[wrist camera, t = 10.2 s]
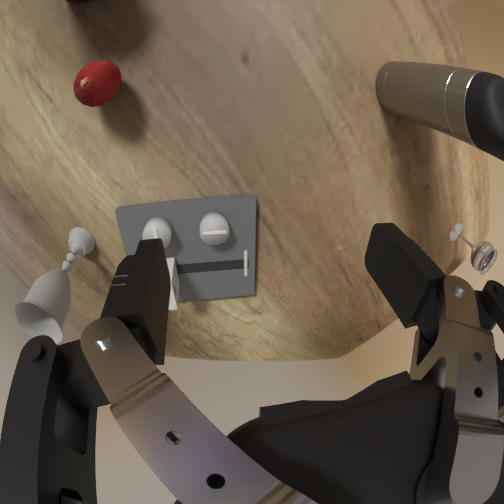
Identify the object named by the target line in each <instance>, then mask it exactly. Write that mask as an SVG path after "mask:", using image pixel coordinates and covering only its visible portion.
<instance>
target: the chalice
mask: <svg viewBox="0 0 504 504" xmlns="http://www.w3.org/2000/svg"><path fill="white" fill-rule="evenodd" d="M68 245H69V249H70V251H71V253H69V254H67V261H64V262H63V268H62V269H59V268H57V269H54V270H52V271H50V272H47V273H45V274H44V275H42V276H41V277H39V278H38V279H36V280H35V282H34V284H33V285H32V287H31V289H30V291H29V292H28V294H27V296H26V298H25V300H24V301H23V302H21V303H19V304H18V305H17V306H16V310H15V311H16V316H17V319H18V321H19V323H20V324H21V326H22V327H23V328H24V329H25V330H26V331H27V332H28V333H29V334H30V335H31V336H33V337H36V336H39V335H47V336H49V337H51V338H52V339H53V340H54V342H55V343H56V344H57V343H59V342H60V341H61V340H62V336H63V334H62V326H63V324H64V321H65V319H66V316H67V313H68V311H69V308H70V296H71V292H70V281H69V276H68V274H67V272H68V271H70V270H71V268H72V267H71V264H72V263H75V262H76V256H85V255H86V254H88V253H90V252H92V251H93V250H94V247H95V239H94V237H93V235H92V233H91V232H89V231H88V230H87V229H85V228H82V227H76V228H74V229H72V230H71V232H70V234H69V243H68Z"/></svg>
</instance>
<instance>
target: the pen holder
mask: <svg viewBox="0 0 504 504" xmlns="http://www.w3.org/2000/svg"><path fill="white" fill-rule="evenodd" d="M66 1H69V2H73V3H81V2H86V1H89V0H66Z"/></svg>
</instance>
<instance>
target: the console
mask: <svg viewBox="0 0 504 504" xmlns="http://www.w3.org/2000/svg"><path fill="white" fill-rule="evenodd" d="M115 213H116V217H117V221H118V225H119V229H120V233H121V237H122V240H123V244H124V248H125V251H126V255H135V252H136V250H137V247H138V244H139V241H140V240H145V239H155V238H161V239H162V242H163V246H164V250H165V255H166V258H175V263H176V268H177V273H178V278H179V295H178V301H189V300H202V299H214V298H226V297H237V296H247V295H254V288H255V238H256V197H255V195H237V196H221V197H208V198H195V199H184V200H173V201H163V202H154V203H145V204H136V205H128V206H120V207H118V208H117V209H116V211H115Z"/></svg>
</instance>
